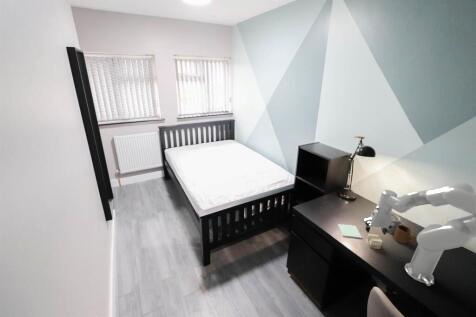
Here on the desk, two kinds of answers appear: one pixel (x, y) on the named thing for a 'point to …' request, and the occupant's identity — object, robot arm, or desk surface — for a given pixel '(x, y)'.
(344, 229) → the trivet
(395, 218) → the coffee mug
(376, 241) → the maple block
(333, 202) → the desk surface
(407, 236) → the mug
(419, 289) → the desk surface
